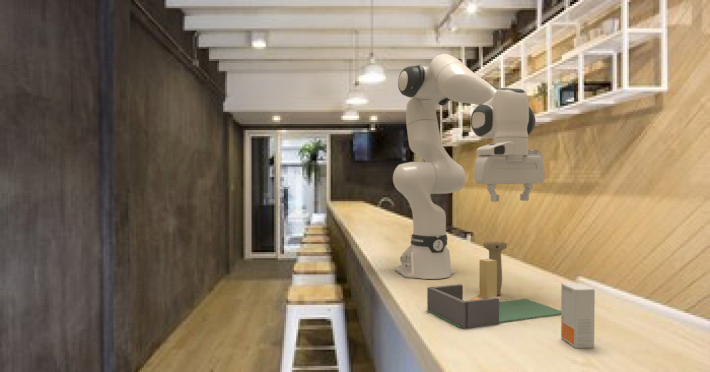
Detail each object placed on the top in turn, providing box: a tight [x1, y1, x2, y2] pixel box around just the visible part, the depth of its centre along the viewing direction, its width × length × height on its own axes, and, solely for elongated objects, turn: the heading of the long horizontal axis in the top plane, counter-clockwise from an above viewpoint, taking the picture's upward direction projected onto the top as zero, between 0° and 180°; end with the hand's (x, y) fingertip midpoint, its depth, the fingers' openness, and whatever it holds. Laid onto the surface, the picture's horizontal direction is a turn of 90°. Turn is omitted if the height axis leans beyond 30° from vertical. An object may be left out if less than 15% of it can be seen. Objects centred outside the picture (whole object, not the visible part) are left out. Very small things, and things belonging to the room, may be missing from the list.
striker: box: [477, 258, 498, 299], centre depth 126 cm, size 6×3×13 cm, turn 21°
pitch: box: [426, 298, 561, 329], centre depth 128 cm, size 15×31×1 cm, turn 111°
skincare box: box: [560, 282, 596, 349], centre depth 105 cm, size 6×4×12 cm
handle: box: [483, 241, 508, 296], centre depth 146 cm, size 5×6×15 cm
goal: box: [426, 283, 500, 330], centre depth 124 cm, size 16×10×6 cm, turn 21°
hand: (509, 201), depth 135 cm, fingers open, 8 cm apart
